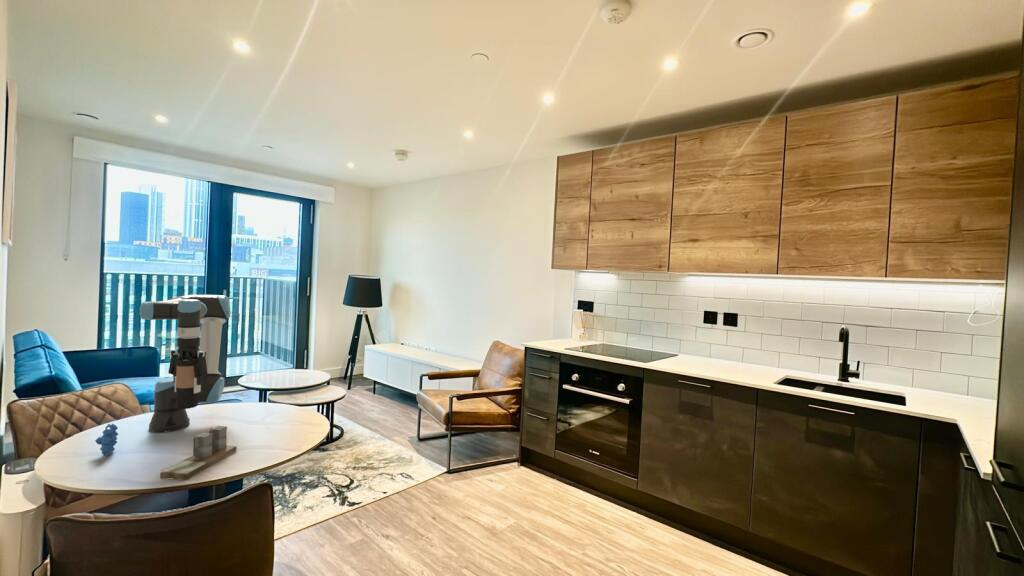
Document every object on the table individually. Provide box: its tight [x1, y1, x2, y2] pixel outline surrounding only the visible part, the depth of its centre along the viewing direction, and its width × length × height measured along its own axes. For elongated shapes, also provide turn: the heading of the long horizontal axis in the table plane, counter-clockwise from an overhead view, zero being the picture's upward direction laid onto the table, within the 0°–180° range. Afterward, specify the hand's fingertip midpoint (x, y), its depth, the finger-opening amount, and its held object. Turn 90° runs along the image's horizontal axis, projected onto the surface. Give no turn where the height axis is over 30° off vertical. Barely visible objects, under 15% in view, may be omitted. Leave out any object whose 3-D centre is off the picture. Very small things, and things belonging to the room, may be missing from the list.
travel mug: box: [176, 359, 199, 410], centre depth 179 cm, size 8×8×20 cm
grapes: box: [94, 422, 119, 457], centre depth 174 cm, size 12×7×12 cm, turn 29°
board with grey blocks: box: [159, 425, 237, 481], centre depth 170 cm, size 10×26×11 cm, turn 176°
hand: (187, 391), depth 180 cm, fingers closed on travel mug, 8 cm apart
